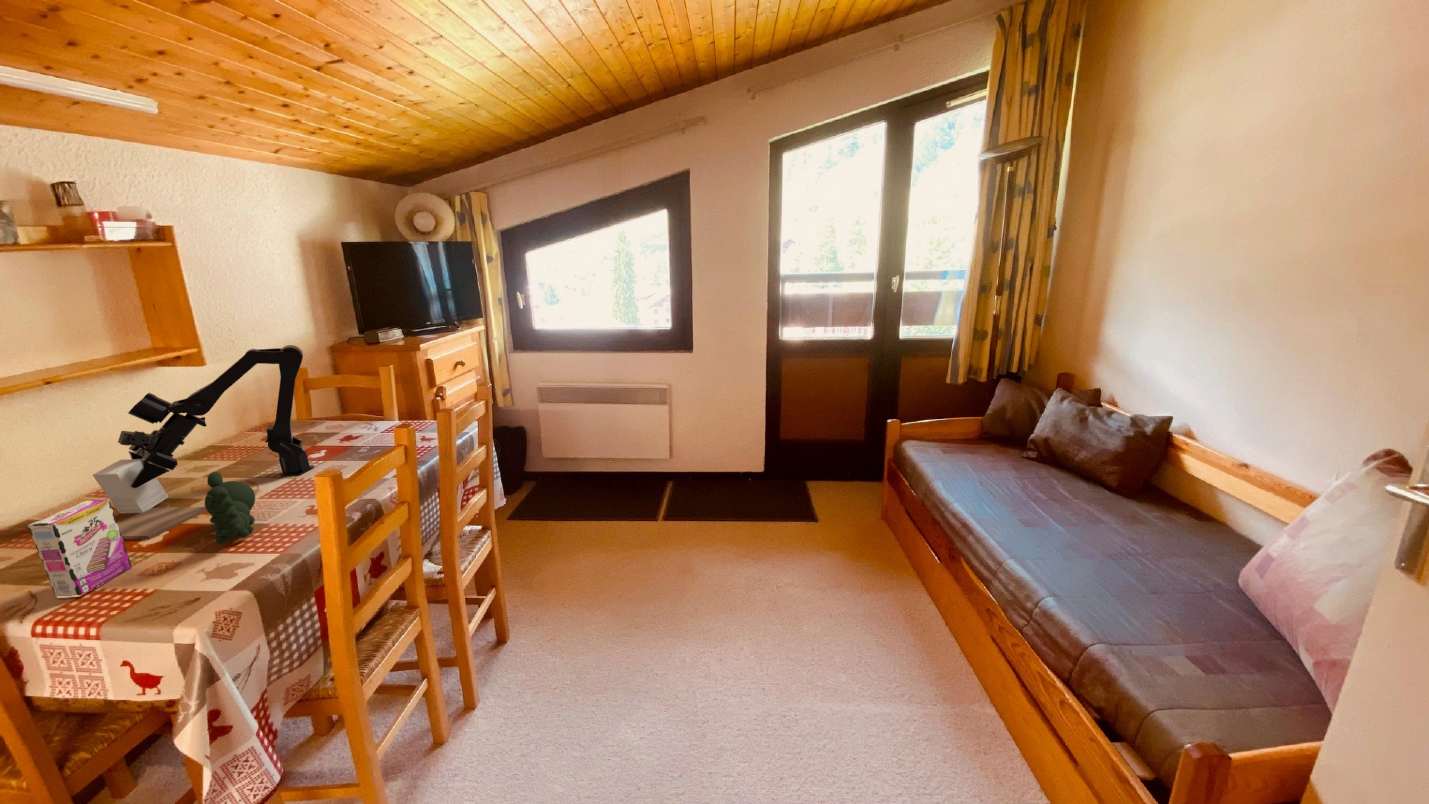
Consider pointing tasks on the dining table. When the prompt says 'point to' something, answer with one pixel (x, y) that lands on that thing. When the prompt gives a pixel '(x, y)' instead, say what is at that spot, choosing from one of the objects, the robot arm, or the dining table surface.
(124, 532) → the walnut board
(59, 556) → the candy bar box
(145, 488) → the supplement box
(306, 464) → the robot arm
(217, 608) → the dining table surface
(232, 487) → the toy figurine
